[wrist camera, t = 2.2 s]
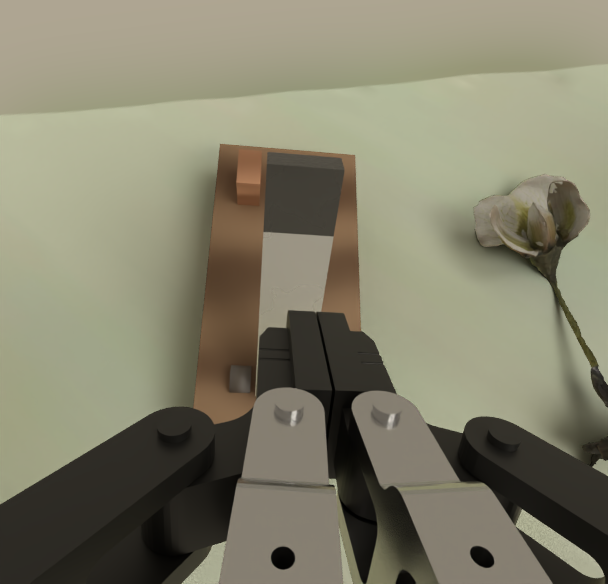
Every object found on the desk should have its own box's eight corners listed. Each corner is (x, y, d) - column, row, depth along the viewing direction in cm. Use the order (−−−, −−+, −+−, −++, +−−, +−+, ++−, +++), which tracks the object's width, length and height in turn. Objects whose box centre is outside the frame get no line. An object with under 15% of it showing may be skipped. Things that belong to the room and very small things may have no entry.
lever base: (350, 438, 30) (375, 431, 24) (198, 434, 29) (184, 427, 23) (344, 185, 37) (363, 131, 31) (223, 176, 36) (217, 118, 30)
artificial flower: (539, 480, 32) (596, 470, 23) (454, 224, 42) (470, 148, 33) (673, 462, 31) (786, 444, 22) (552, 204, 41) (595, 120, 32)
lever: (305, 381, 27) (306, 397, 26) (256, 379, 26) (255, 395, 25) (341, 157, 18) (344, 169, 17) (267, 151, 18) (266, 163, 17)
